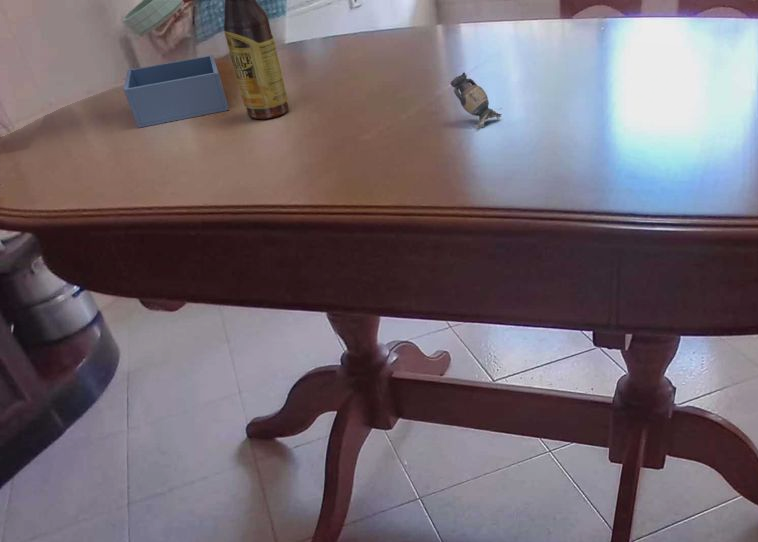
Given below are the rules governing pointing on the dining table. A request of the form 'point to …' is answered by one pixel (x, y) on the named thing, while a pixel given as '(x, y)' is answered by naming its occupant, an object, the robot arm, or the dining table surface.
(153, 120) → the tub
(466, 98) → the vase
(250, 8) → the sauce bottle
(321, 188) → the dining table surface
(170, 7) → the mint green bowl
